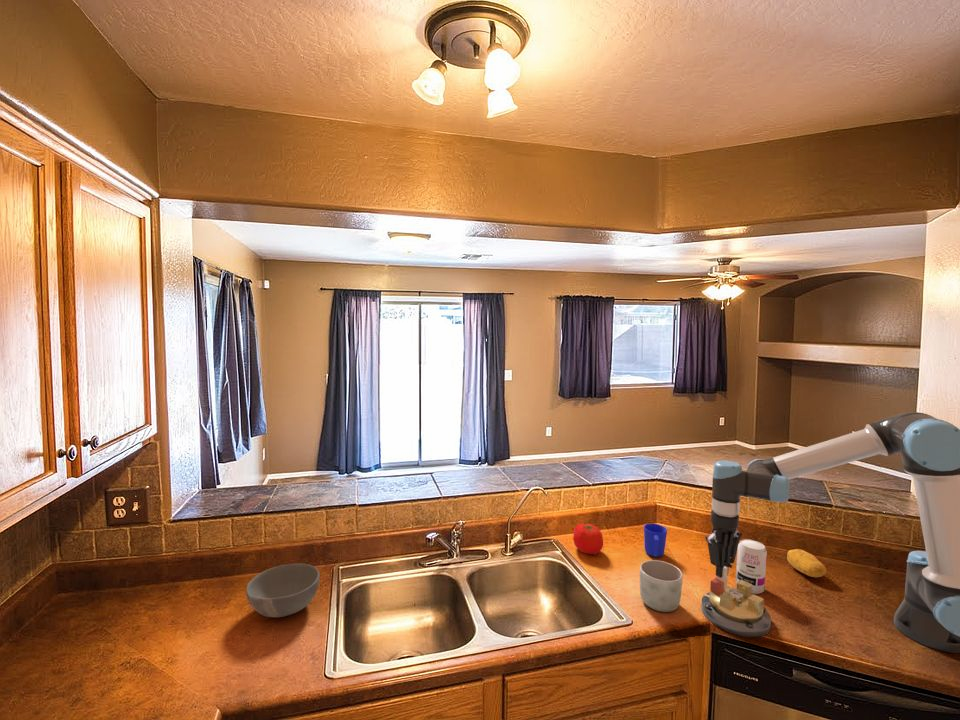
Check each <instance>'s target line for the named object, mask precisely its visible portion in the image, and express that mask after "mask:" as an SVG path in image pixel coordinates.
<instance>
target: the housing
mask: <svg viewBox="0 0 960 720" xmlns="http://www.w3.org/2000/svg"><path fill="white" fill-rule="evenodd" d="M729 594H731V595H733V596H735V597H736V602H739V603H740V602H743V593H742V592H741V591H739V590H737V589H730V590H729ZM709 595H710V591H708V592H707V593H705V594H703V596H702V598H701V607H700V608H701V612H702V614H703V615H704V617H705V618H706V619H707V620H708V621H709V622H710V623H712V624H713V625H714V626H716V627H717V628H719V629H721V630H723V631H726V632H728V633H731V634H733V635H737V636H742V637H747V638H758V637H759V638H760V637H764V636H765V635H767V634H769V632H771V625H772V624H771V623H772V618H771V614H770V613H769V612H768V610H767V608H766V607H765V606H763V618H762V619H761V620H760V621H759V622H756V623H742V622H737V621H734V620H731V619H728V618H726V617H724V616H722V615H720V614H719V613H717V612H716V611H715V610H714V609H713V608H712V607H711V605H710V603H709Z"/></svg>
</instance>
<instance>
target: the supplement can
mask: <svg viewBox="0 0 960 720" xmlns="http://www.w3.org/2000/svg"><path fill="white" fill-rule="evenodd" d="M767 555H768V551H767V549H766V546H765V545H764V544H763V543H762V542H759V541H756V540H753V539H749V538H747V539H746V538H745V539H740V540H739V544H738V548H737V553H736V572H735V584H736V585H737V582H738V581H740V580H743V581H746V582H748V583H750V584H752V595H753V594H754V595H759V594H762V593H763V592H765V587H766V586H765V585H766V572H767Z"/></svg>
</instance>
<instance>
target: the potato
mask: <svg viewBox="0 0 960 720" xmlns="http://www.w3.org/2000/svg"><path fill="white" fill-rule="evenodd" d="M786 559H787V561H788V562H789V564H790V566H791V567H792V568H794V569H795V570H797V571H798V572H800V573H802V574H804V575H806V576H808V577H812V578H820V577H824V576H825V575H826V574H827V568H826V565H825V564H823V563H822V562H821V561H820V560H818V558H817V557H816V556H815V555H813V554H811V552H807V551H806V550H803V549H798V548H795V549H790V550H788V551H787V555H786Z"/></svg>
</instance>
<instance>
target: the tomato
mask: <svg viewBox="0 0 960 720" xmlns="http://www.w3.org/2000/svg"><path fill="white" fill-rule="evenodd" d="M572 537H573V538H572V539H573V543H574V546H575V548H577V550H578V551H579V552H581V553H584V554H586V555H596V554H598V553H600V552H601V550H602V549H603V547H604V539H603V533H602V531H601V530H600V529H599V528H598V527H596V526H595V525H594V524H592V523H591V524H590V523H587V524H586V523H582V522H581V523H578V524H577V525H576V526H575V527H574V529H573V536H572Z"/></svg>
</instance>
